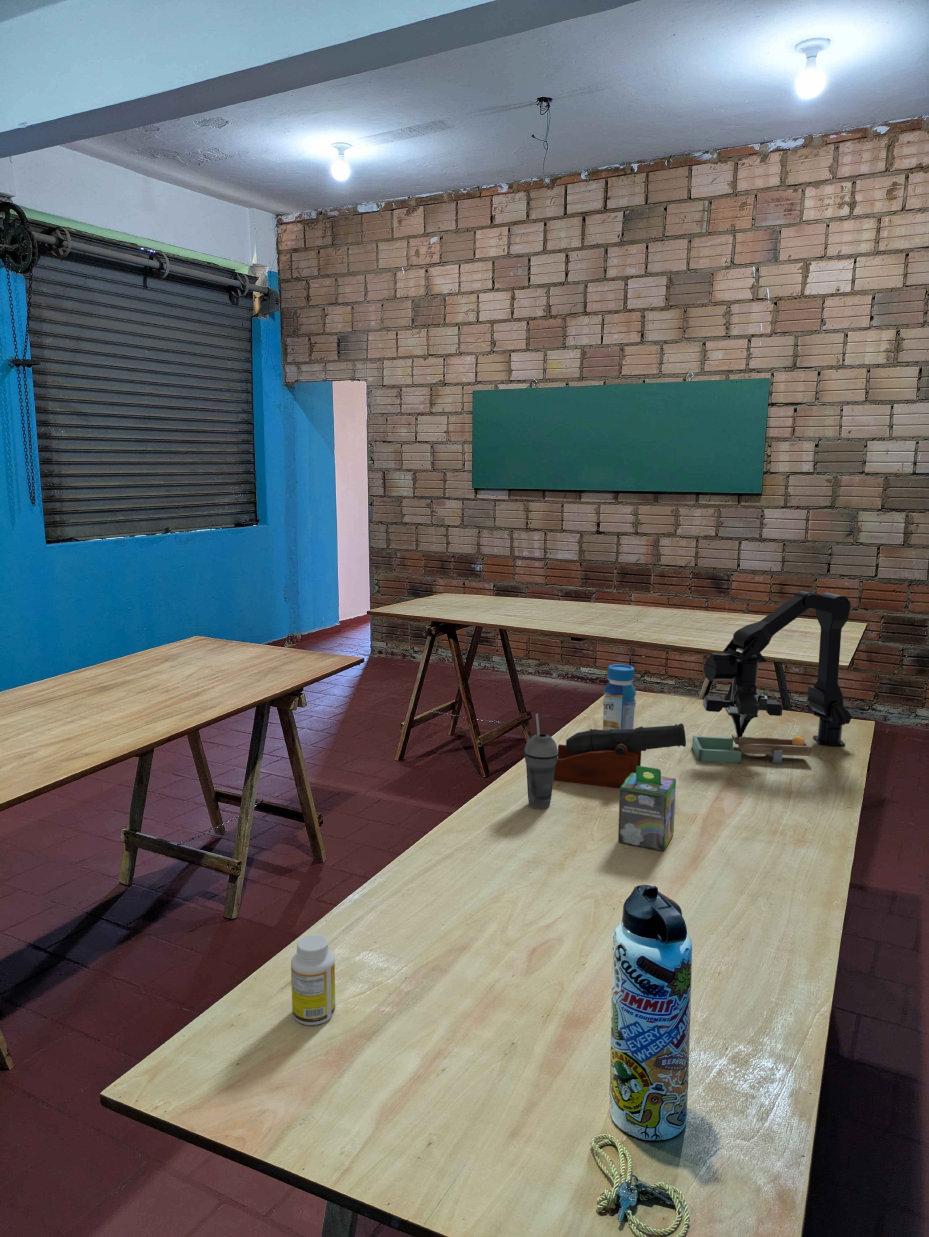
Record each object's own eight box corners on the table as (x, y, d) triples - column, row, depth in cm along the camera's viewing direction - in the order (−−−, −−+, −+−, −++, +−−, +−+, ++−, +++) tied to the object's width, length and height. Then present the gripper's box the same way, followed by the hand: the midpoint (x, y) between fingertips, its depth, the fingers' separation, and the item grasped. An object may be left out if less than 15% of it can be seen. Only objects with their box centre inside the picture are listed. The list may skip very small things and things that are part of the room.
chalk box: (674, 833, 167) (678, 762, 164) (664, 852, 159) (669, 777, 156) (627, 824, 171) (631, 754, 168) (615, 842, 162) (619, 769, 160)
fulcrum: (765, 752, 216) (766, 739, 215) (773, 753, 215) (774, 740, 215) (772, 763, 208) (774, 750, 207) (781, 764, 207) (782, 750, 207)
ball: (790, 746, 212) (790, 734, 211) (803, 745, 212) (803, 734, 211) (793, 750, 209) (793, 738, 208) (806, 749, 209) (806, 737, 208)
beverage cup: (554, 813, 176) (558, 720, 172) (519, 810, 177) (522, 717, 173) (558, 800, 183) (561, 710, 179) (524, 796, 184) (527, 708, 180)
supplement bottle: (316, 995, 114) (315, 925, 113) (344, 1012, 111) (343, 941, 109) (283, 1014, 110) (281, 943, 108) (310, 1033, 107) (309, 959, 105)
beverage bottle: (636, 746, 218) (640, 671, 215) (603, 746, 218) (607, 670, 215) (630, 736, 227) (634, 663, 223) (598, 735, 227) (602, 662, 223)
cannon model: (681, 798, 185) (686, 732, 182) (548, 782, 193) (550, 718, 190) (684, 778, 197) (688, 716, 194) (558, 763, 205) (561, 703, 202)
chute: (731, 738, 221) (732, 729, 220) (797, 740, 219) (798, 732, 219) (741, 753, 209) (741, 744, 209) (810, 756, 207) (811, 747, 207)
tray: (692, 747, 219) (692, 735, 218) (731, 749, 218) (732, 738, 217) (698, 761, 208) (699, 749, 208) (740, 763, 207) (741, 752, 207)
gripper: (712, 684, 208) (707, 745, 211) (790, 689, 206) (784, 750, 209) (705, 673, 219) (700, 731, 222) (779, 678, 217) (773, 736, 220)
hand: (739, 737), depth 218 cm, fingers closed, pressing on chute
